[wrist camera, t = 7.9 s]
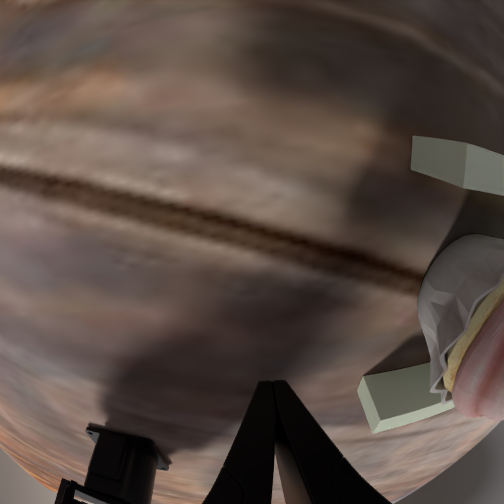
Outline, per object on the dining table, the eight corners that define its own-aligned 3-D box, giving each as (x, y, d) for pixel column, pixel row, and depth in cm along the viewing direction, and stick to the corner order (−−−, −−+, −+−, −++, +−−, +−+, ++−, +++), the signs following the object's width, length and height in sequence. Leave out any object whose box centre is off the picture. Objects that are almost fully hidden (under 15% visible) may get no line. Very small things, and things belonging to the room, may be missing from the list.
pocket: (490, 354, 16) (518, 391, 11) (357, 390, 16) (379, 453, 11) (547, 178, 10) (596, 200, 5) (412, 135, 10) (499, 149, 5)
